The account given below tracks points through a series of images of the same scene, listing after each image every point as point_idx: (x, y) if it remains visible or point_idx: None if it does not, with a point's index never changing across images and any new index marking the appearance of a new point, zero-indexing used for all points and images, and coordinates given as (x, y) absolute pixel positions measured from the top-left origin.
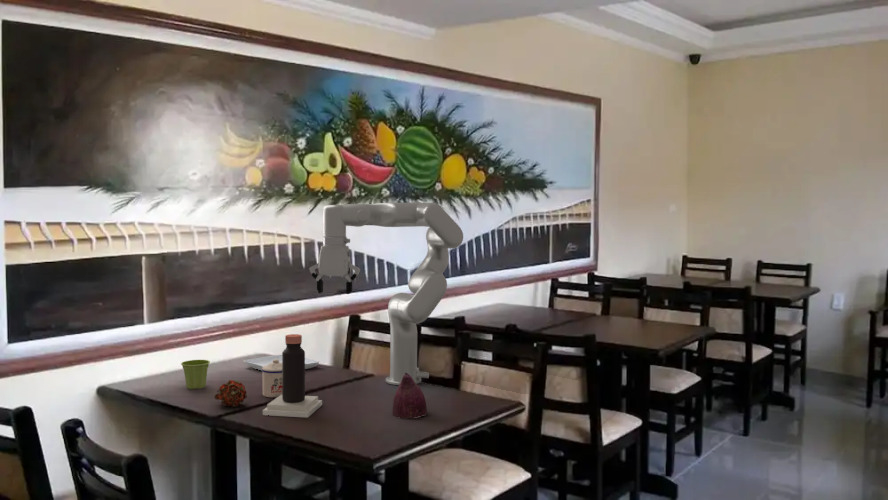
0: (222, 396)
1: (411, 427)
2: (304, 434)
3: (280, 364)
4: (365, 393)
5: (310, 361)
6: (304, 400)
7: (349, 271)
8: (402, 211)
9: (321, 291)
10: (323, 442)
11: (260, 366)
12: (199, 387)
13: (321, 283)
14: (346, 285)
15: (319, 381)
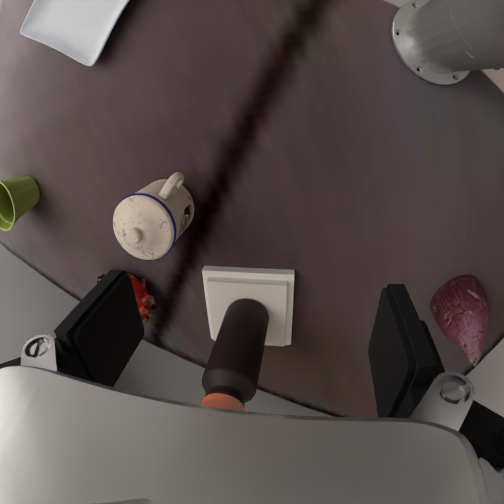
0: None
1: (448, 354)
2: (307, 394)
3: (151, 239)
4: (369, 163)
5: None
6: (269, 314)
7: (463, 458)
8: None
9: (134, 312)
10: (337, 410)
11: (57, 49)
12: (37, 201)
13: (102, 360)
14: (378, 407)
15: (216, 64)
